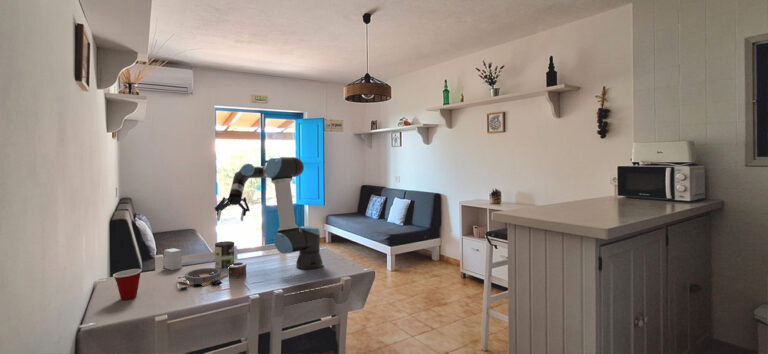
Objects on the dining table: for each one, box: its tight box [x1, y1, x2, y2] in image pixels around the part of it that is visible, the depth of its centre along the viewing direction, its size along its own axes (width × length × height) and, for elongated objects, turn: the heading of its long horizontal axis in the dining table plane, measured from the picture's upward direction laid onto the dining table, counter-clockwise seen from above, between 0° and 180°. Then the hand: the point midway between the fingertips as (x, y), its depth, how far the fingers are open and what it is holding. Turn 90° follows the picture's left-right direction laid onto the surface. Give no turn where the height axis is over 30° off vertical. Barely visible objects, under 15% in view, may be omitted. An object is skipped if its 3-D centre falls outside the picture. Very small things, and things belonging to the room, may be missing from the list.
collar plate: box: [176, 267, 229, 287], centre depth 198 cm, size 17×17×4 cm
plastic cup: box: [112, 268, 143, 301], centre depth 171 cm, size 11×11×12 cm
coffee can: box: [214, 240, 235, 271], centre depth 219 cm, size 10×10×14 cm
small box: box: [163, 248, 183, 271], centre depth 216 cm, size 8×6×10 cm
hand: (229, 219), depth 228 cm, fingers open, 13 cm apart
